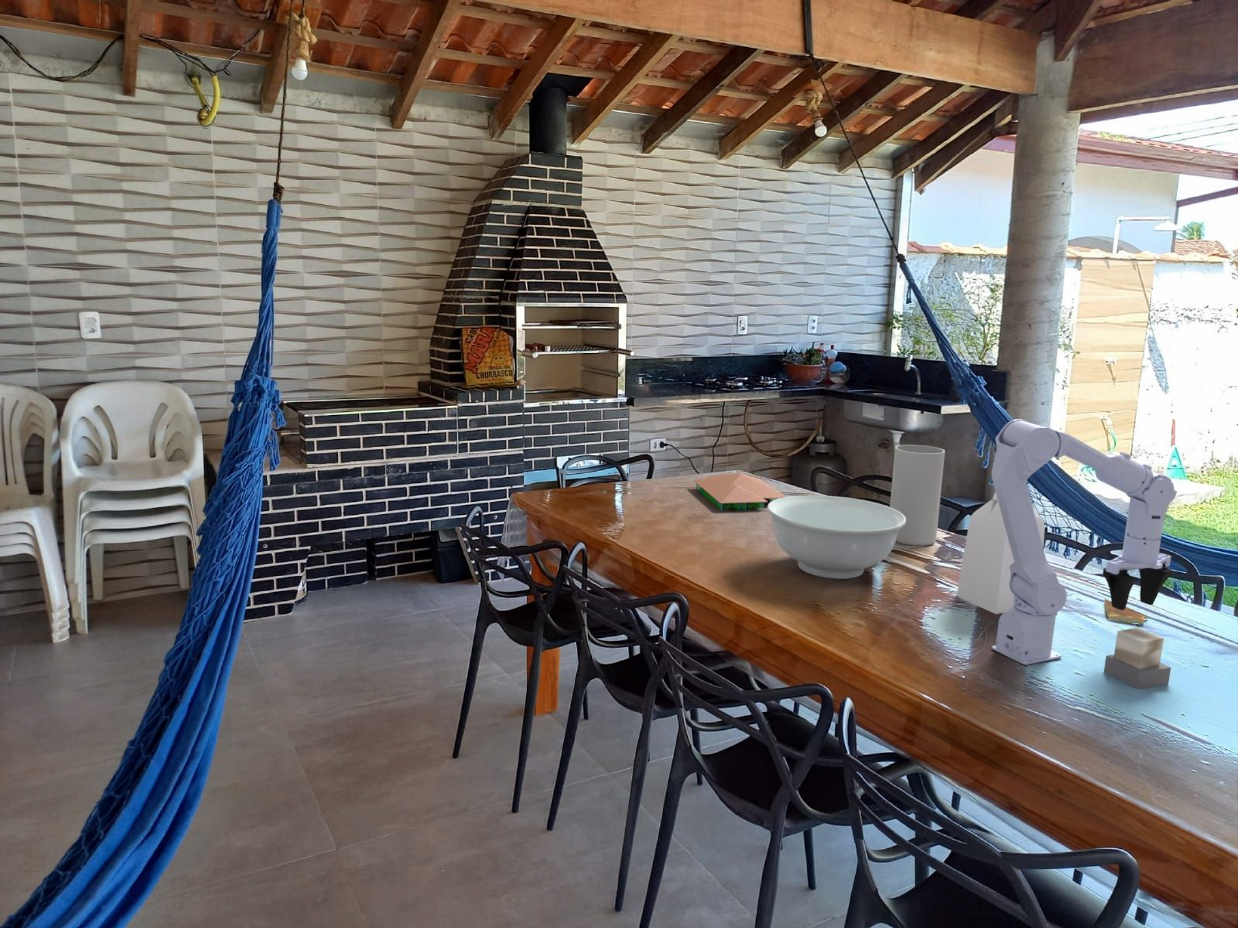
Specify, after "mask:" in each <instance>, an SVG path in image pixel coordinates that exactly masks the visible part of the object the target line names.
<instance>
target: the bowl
mask: <svg viewBox="0 0 1238 928" xmlns="http://www.w3.org/2000/svg"><path fill="white" fill-rule="evenodd" d="M767 512H768V514H769V515H771V517H772V525H773V526H772V527H773V533H774V536H775V540H776V542H777V544H778V545H779V546H780V548H781V549H782V550H783V552H784V553H786V554H787V555H789V556H790V557H791V558H792V559H794V560H796V561H798V562H797V565H798V567H799V569H800V570H801V571H803V572H805V573H807V574H808V575H809V574H810V575H812V576H815V577H821V578H825V579H834V580H835V579H838V580H841V579H843V580H845V579H848V580H849V579H853V578H857V577H860V576H861V575H863V573H864V571H865V569H867V568H870V567H872V566H875V565H877V564H879V563H881V562H882V561H883V560H884V559H885V558H886V557H888V556H889V554H890V553H891V552H892V550H893V548H894V546H895V544H896V542H895V541H896V538H897V535H898V532H899V530H900V529H901V528H902V527H904V525H905V523H906V518H905V516H904V515H903V514H902V513H901V512H899V511H897V510H895V509H893V508H891V507H890V506H888V505H885V504H881V503H879V502H873V501H869V500H865V499H858V498H852V497H846V496H845V497H844V496H834V495H833V496H832V495H793V496H786V497H784V498H778V499H777V498H776V499H775V500H774V499H773V501H772V500H771V501H769V503H768V505H767Z"/></svg>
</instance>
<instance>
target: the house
mask: <svg viewBox="0 0 1238 928" xmlns="http://www.w3.org/2000/svg"><path fill="white" fill-rule="evenodd" d="M693 482H695V484H696V486H695V487H696V490H697V492H699V493H700V494H701V495H703V496H704V497H705V498H706V499H708V500H709V502H712V504H713V505H715V507H716V508H719V510H720V511H721V512H723V511H724V510H723V508H727V512H728V511H729V510H728V509H729V507H731V506H732V504H733V506H734V509H738V510H739V511H738V512H740V511H741V509H739V507H741V508H742V510H744V511H747V507H748V508H752V507H753V505H755V509H757V507H758V508H759V509H760V511H762V510H763V511H764V509H765V503H768V501H769V499H772V500H771V502H772V501H774V500H776V499H780V498H784V497H787V496H786V495H785V494H783V493H782V492H780V491H779V490H777V489H775V488H774V487H773V486H772V485H770V484H768V483H766V482H765V481H763V480H762V479H760V478H758V477H755V476H752V475H748V474H744V473H742V472H741V473H740V472H734V473H721V474H720V473H719V474H714V475H710V476H709V475H708V476H707V477H705V478H699V479H694V480H693ZM766 499H767V500H766ZM726 504H728V507H726ZM748 504H750V505H748ZM749 510H750V509H748V511H749Z"/></svg>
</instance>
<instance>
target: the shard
mask: <svg viewBox="0 0 1238 928" xmlns="http://www.w3.org/2000/svg"><path fill="white" fill-rule="evenodd" d="M1104 606H1105V611H1106V615H1107V618H1108V620H1109V619H1111V620H1115V621H1114V622H1118V621H1124V622H1123V623H1125V622H1128V623H1127V624H1130V623H1138V624H1140V625H1142V624H1144V622H1145V621H1144V619H1148V615H1146V614H1143V613H1142V612H1139V611H1138V610H1137V611H1136V610H1134V609H1132V608H1130V607H1127V606H1126V607H1125V609H1124V610H1119V609H1117V608H1114V607H1112V602H1111V600H1108V599H1106V598H1104ZM1111 620H1110V621H1111Z"/></svg>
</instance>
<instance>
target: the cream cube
mask: <svg viewBox="0 0 1238 928" xmlns="http://www.w3.org/2000/svg"><path fill="white" fill-rule="evenodd" d="M1164 640H1165V638H1164V637H1162V636H1160V635H1156V634H1155V633H1152V632H1149V631H1147V630H1144V629H1142V628H1139V627H1134V628H1133V627H1132V628H1129V629H1122V630H1121V629H1120V630H1117V634H1116V641H1115V647H1114V654H1113V655H1114V658H1116V659H1118V660H1120V661H1122V662H1125V663H1127V664H1129V665H1131V666H1134V667H1136V668H1138V669H1143V668H1147V667H1152V666H1157V665H1160V663H1161V658H1162V654H1163V653H1162V651H1163V645H1164Z"/></svg>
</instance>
